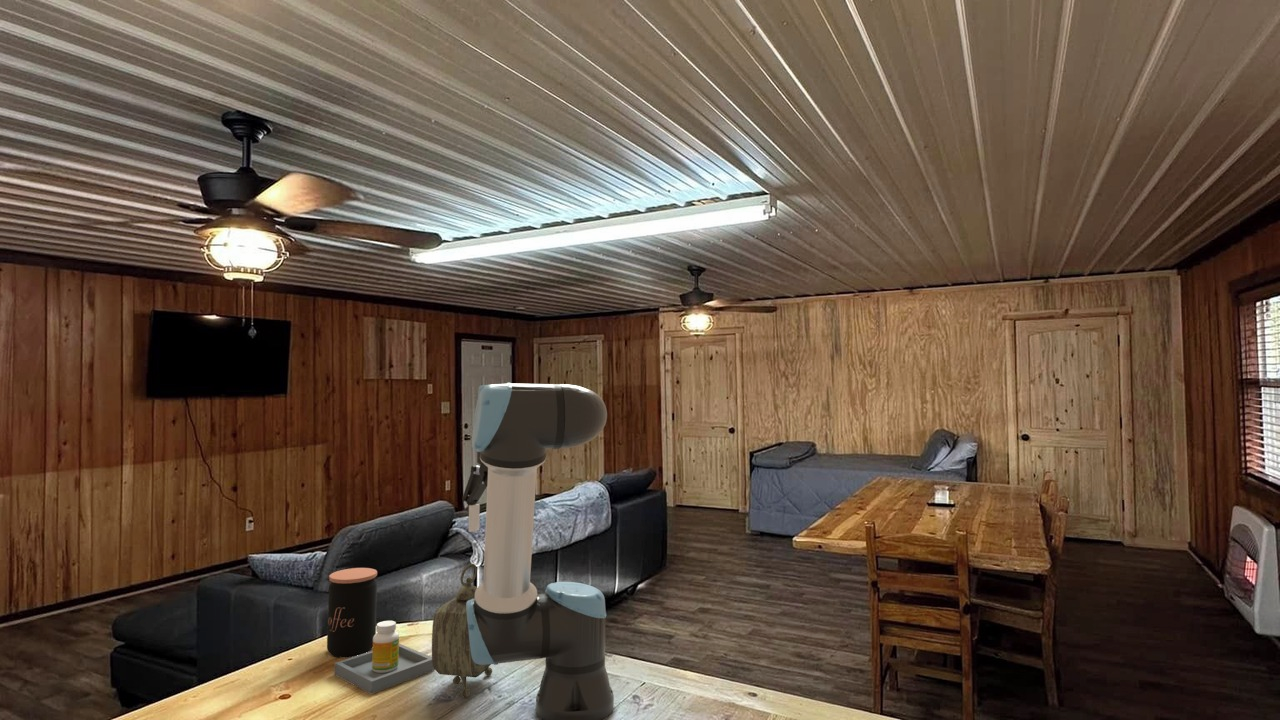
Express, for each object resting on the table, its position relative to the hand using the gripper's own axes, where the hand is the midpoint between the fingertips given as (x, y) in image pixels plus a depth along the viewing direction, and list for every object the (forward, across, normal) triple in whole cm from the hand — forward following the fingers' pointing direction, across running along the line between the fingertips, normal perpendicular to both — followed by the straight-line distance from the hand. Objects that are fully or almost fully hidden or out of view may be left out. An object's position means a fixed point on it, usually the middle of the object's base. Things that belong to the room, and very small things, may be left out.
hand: (491, 534), depth 160 cm
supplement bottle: (+26, +6, +24) cm, 36 cm away
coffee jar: (+27, +24, +22) cm, 42 cm away
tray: (+27, +6, +24) cm, 36 cm away
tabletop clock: (+27, -13, +17) cm, 34 cm away
